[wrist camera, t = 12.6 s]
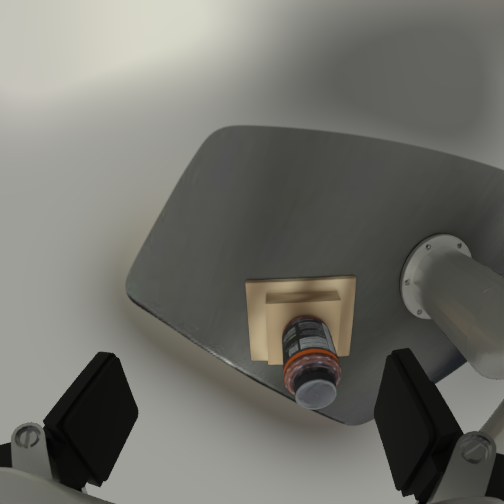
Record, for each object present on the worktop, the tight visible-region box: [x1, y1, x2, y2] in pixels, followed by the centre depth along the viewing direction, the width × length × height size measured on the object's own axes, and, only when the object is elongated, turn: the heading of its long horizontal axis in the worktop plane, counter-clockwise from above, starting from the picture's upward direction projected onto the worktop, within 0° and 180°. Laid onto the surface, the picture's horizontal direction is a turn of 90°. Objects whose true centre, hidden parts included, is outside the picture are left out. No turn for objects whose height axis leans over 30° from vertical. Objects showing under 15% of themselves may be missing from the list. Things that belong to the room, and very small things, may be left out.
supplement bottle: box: [282, 316, 342, 409], centre depth 30 cm, size 6×6×11 cm
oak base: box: [246, 276, 356, 365], centre depth 38 cm, size 14×12×4 cm
